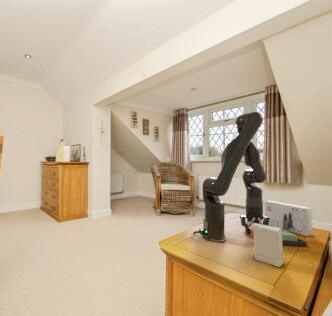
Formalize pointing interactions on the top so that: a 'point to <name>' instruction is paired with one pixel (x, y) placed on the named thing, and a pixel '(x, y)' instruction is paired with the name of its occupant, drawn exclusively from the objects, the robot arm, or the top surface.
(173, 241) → the top surface
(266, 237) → the cosmetic box
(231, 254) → the top surface
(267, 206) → the skincare box
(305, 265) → the top surface
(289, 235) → the sage pad
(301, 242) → the frame
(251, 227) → the terracotta pad
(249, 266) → the top surface
